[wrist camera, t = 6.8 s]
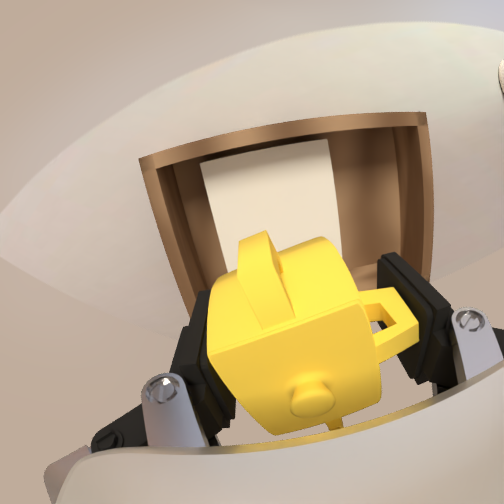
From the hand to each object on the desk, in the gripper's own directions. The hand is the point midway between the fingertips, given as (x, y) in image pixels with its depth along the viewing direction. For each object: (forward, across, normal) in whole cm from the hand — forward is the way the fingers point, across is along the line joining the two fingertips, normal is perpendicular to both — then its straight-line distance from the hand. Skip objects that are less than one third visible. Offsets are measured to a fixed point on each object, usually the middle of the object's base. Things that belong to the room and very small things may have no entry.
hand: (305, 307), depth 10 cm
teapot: (+1, 0, 0) cm, 1 cm away
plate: (+13, 0, 0) cm, 13 cm away
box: (+14, -2, 0) cm, 14 cm away
